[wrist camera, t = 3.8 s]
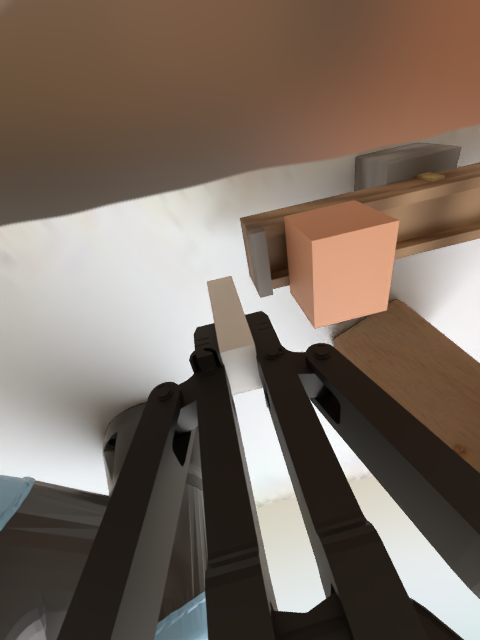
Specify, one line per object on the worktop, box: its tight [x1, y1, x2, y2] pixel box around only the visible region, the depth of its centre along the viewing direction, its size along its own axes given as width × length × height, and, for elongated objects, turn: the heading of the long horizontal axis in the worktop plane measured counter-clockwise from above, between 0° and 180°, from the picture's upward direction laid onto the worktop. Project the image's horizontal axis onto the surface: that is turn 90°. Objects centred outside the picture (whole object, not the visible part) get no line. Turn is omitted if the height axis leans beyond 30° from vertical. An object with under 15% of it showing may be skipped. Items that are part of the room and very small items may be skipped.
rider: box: [284, 200, 399, 328], centre depth 20 cm, size 5×6×6 cm
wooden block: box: [333, 300, 480, 473], centre depth 32 cm, size 10×10×20 cm
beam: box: [240, 143, 480, 298], centre depth 26 cm, size 30×8×9 cm, turn 100°
